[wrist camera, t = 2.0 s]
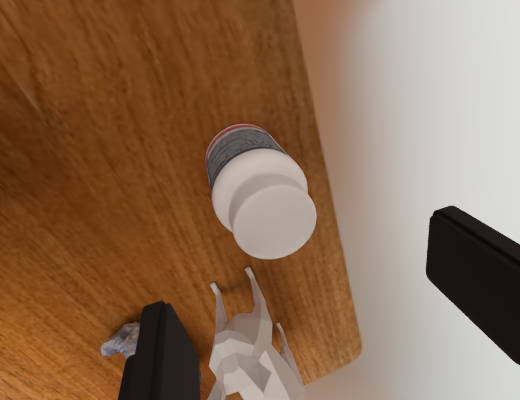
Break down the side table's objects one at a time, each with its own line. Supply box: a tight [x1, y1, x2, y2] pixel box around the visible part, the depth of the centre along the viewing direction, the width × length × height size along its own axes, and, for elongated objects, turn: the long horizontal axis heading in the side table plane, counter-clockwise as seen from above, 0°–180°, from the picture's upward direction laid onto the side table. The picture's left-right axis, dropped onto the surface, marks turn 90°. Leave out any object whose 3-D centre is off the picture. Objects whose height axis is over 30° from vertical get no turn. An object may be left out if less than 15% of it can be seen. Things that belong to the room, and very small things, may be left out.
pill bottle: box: [206, 124, 316, 259], centre depth 17 cm, size 5×5×9 cm
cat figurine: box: [207, 267, 305, 400], centre depth 22 cm, size 4×20×14 cm, turn 20°
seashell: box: [100, 322, 201, 385], centre depth 25 cm, size 5×5×10 cm
